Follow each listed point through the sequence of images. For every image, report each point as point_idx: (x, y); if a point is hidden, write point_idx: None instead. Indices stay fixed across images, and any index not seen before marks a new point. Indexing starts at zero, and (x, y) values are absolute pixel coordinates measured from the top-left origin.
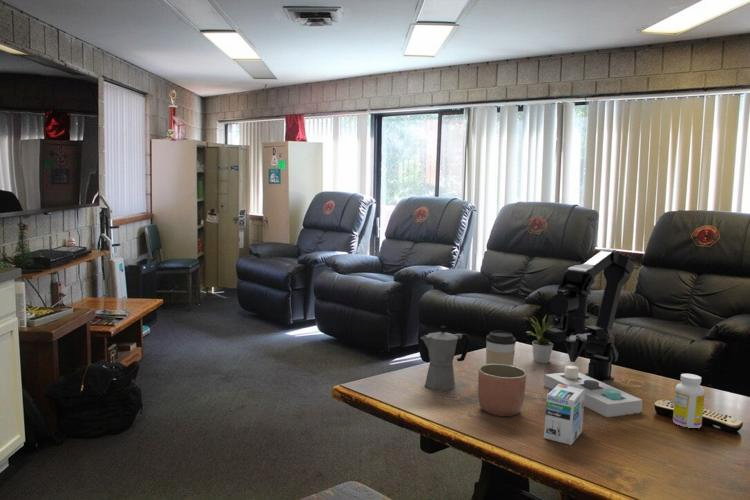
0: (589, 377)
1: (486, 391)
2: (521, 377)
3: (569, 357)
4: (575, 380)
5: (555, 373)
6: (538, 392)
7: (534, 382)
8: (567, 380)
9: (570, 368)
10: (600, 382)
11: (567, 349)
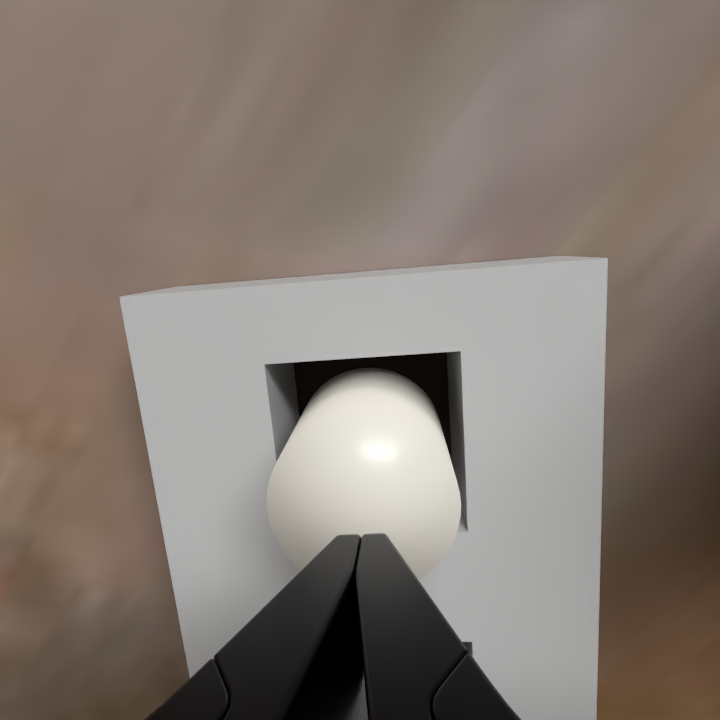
0: (585, 492)
1: None
2: None
3: (304, 576)
4: None
5: (268, 286)
6: (46, 429)
7: (130, 175)
8: (264, 527)
9: (315, 538)
10: (578, 646)
11: (190, 705)
